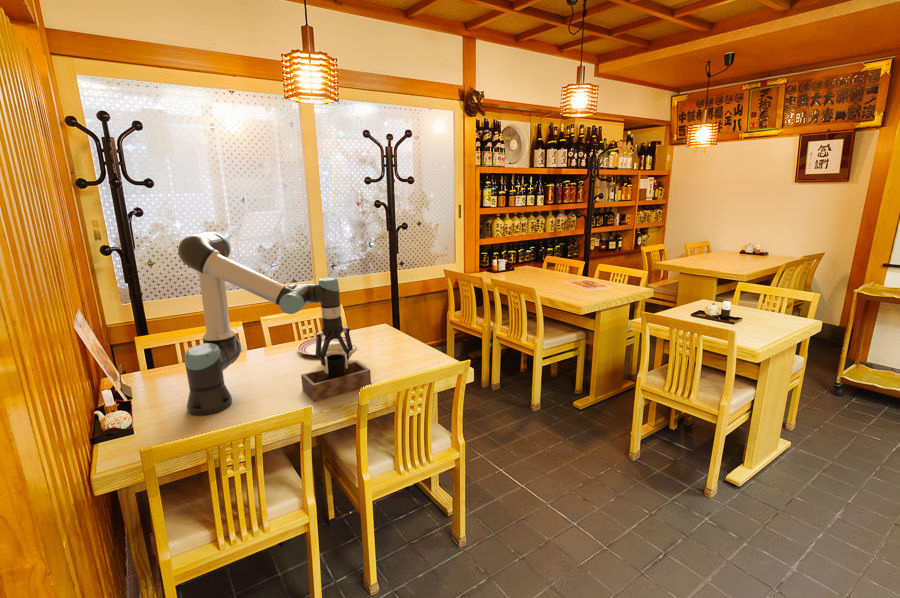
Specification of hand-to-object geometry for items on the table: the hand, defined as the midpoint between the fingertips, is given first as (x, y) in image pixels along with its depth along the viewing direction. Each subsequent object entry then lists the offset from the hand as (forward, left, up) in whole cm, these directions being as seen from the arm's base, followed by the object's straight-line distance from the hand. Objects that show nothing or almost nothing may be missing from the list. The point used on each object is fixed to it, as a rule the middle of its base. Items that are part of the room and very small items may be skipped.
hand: (336, 369), depth 183 cm
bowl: (+11, +25, -8) cm, 28 cm away
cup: (0, 0, -7) cm, 7 cm away
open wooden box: (0, 0, -8) cm, 8 cm away
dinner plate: (+14, +48, -8) cm, 51 cm away
